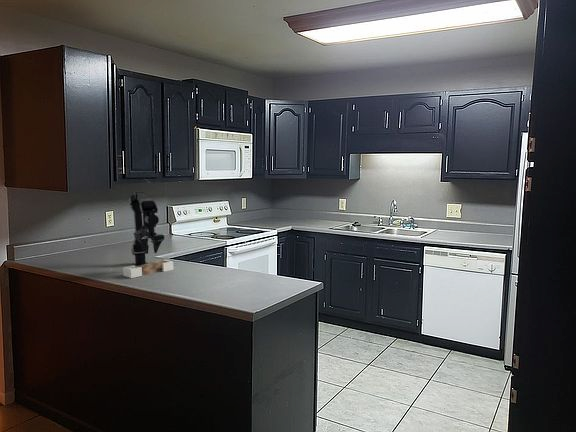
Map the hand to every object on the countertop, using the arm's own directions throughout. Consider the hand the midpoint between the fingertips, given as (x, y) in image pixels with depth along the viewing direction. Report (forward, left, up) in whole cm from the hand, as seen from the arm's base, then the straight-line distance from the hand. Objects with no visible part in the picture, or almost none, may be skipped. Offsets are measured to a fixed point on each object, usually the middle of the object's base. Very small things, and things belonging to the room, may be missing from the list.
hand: (150, 252), depth 251 cm
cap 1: (0, -11, -11) cm, 15 cm away
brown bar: (0, +1, -11) cm, 11 cm away
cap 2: (0, +8, -11) cm, 14 cm away
